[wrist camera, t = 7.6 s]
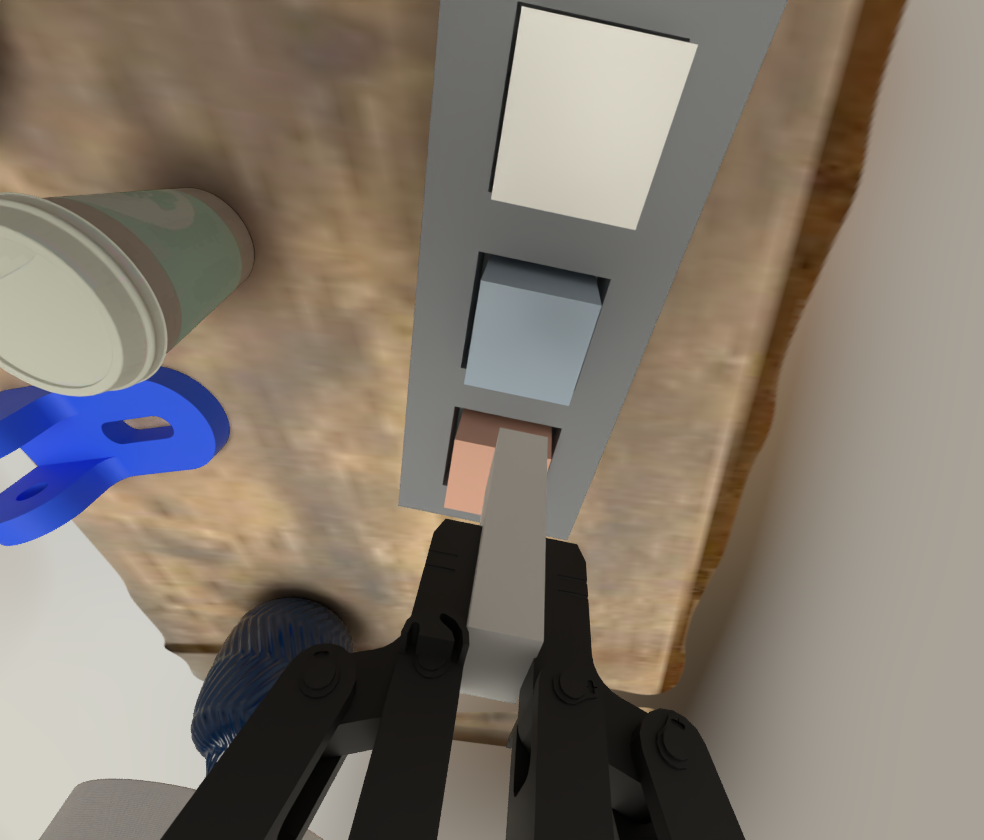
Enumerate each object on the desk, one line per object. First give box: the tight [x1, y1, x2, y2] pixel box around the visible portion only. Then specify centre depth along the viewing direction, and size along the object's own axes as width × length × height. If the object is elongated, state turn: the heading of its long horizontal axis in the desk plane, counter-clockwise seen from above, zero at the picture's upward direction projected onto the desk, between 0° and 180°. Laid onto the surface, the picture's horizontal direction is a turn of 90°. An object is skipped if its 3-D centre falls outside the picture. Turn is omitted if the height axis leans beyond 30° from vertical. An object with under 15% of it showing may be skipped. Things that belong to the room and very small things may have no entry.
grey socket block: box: [398, 0, 788, 540], centre depth 26 cm, size 30×12×5 cm, turn 170°
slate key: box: [464, 254, 602, 406], centre depth 24 cm, size 5×5×4 cm
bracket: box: [0, 367, 230, 546], centre depth 34 cm, size 18×8×9 cm, turn 102°
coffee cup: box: [0, 188, 254, 397], centre depth 24 cm, size 9×8×12 cm
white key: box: [491, 6, 698, 230], centre depth 17 cm, size 5×5×4 cm
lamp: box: [39, 597, 353, 840], centre depth 37 cm, size 20×20×37 cm
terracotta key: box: [444, 408, 552, 515], centre depth 29 cm, size 5×5×4 cm
